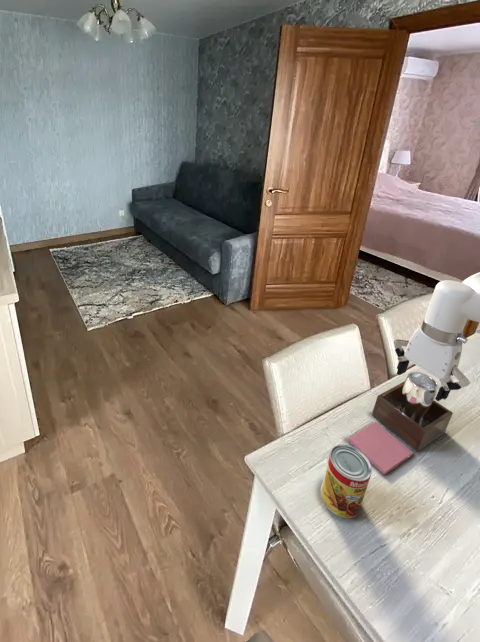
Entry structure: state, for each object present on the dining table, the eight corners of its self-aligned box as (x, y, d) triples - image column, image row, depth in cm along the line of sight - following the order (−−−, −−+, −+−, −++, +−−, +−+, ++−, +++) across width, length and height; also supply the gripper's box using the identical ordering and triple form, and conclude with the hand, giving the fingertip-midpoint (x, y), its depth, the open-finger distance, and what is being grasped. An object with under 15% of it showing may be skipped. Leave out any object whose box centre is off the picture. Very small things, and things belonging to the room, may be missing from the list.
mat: (374, 424, 93) (375, 421, 93) (412, 455, 85) (413, 452, 85) (347, 440, 89) (348, 438, 88) (384, 475, 81) (385, 472, 80)
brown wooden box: (398, 399, 102) (405, 380, 99) (444, 432, 91) (453, 412, 89) (371, 414, 96) (377, 395, 94) (417, 451, 86) (425, 431, 84)
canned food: (352, 527, 71) (365, 489, 66) (314, 499, 75) (324, 462, 71) (364, 497, 76) (376, 460, 71) (328, 473, 81) (337, 437, 76)
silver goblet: (393, 408, 98) (407, 367, 93) (423, 420, 95) (439, 378, 89) (391, 425, 93) (406, 382, 87) (422, 439, 89) (439, 395, 84)
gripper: (491, 347, 77) (465, 404, 83) (412, 308, 91) (395, 360, 98) (474, 357, 74) (448, 415, 80) (395, 315, 88) (378, 368, 94)
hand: (419, 385), depth 89 cm, fingers open, 9 cm apart
